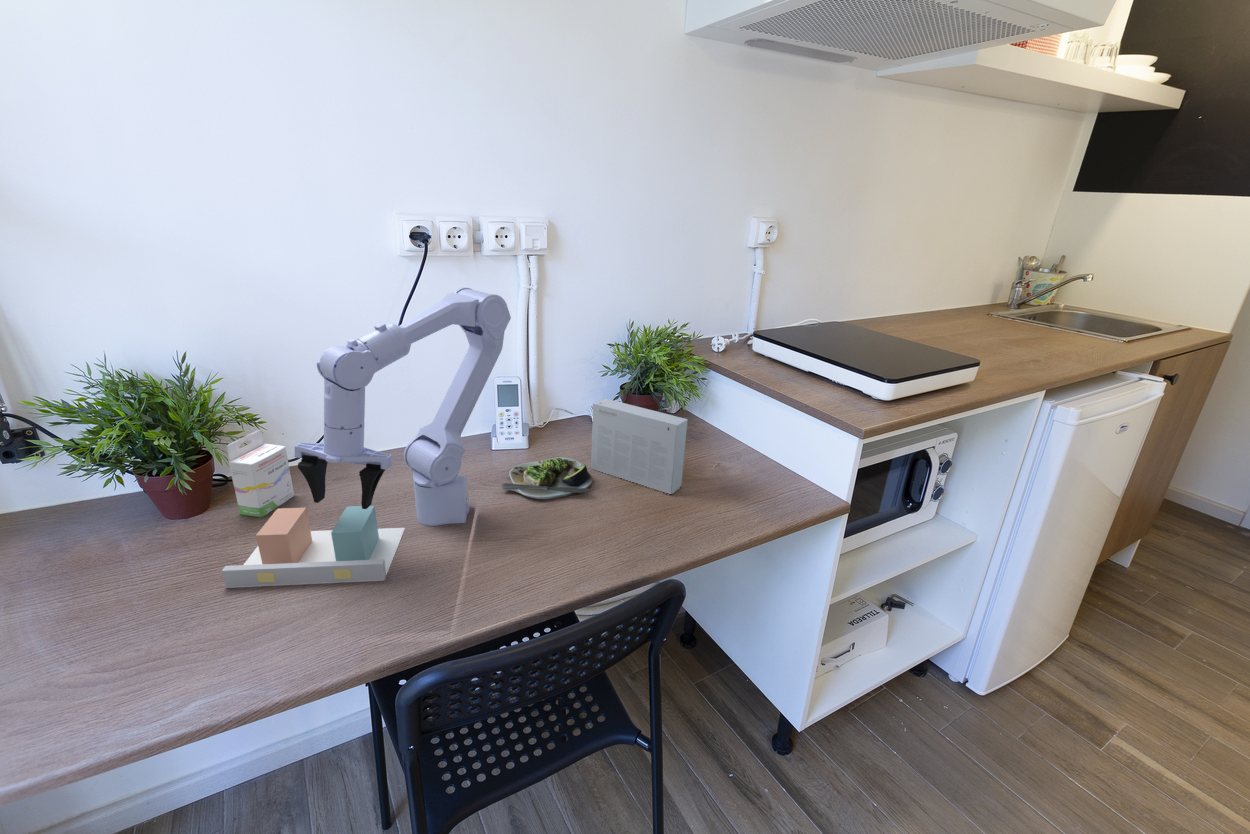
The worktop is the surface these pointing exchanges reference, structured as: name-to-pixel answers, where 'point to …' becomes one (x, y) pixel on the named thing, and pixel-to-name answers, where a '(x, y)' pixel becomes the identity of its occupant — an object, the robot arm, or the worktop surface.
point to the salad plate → (550, 478)
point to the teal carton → (355, 534)
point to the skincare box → (638, 444)
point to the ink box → (259, 475)
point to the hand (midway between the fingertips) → (343, 503)
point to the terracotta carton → (284, 536)
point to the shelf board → (317, 564)
